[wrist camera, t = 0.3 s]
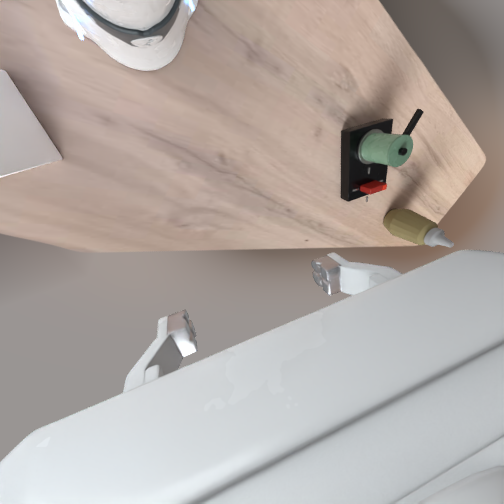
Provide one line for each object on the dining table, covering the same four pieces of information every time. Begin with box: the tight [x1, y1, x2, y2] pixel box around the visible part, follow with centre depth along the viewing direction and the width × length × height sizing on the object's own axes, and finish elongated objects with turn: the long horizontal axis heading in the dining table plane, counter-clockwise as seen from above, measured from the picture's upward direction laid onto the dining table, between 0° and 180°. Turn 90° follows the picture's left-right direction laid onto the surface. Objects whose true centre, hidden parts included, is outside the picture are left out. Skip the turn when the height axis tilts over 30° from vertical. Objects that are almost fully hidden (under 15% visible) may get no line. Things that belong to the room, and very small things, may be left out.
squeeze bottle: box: [383, 209, 454, 247], centre depth 63 cm, size 8×8×18 cm
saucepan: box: [361, 109, 423, 167], centre depth 48 cm, size 9×8×8 cm
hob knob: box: [360, 180, 387, 194], centre depth 56 cm, size 4×1×4 cm, turn 101°
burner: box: [357, 129, 383, 164], centre depth 53 cm, size 7×7×1 cm
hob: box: [341, 119, 393, 202], centre depth 57 cm, size 18×11×3 cm, turn 11°
